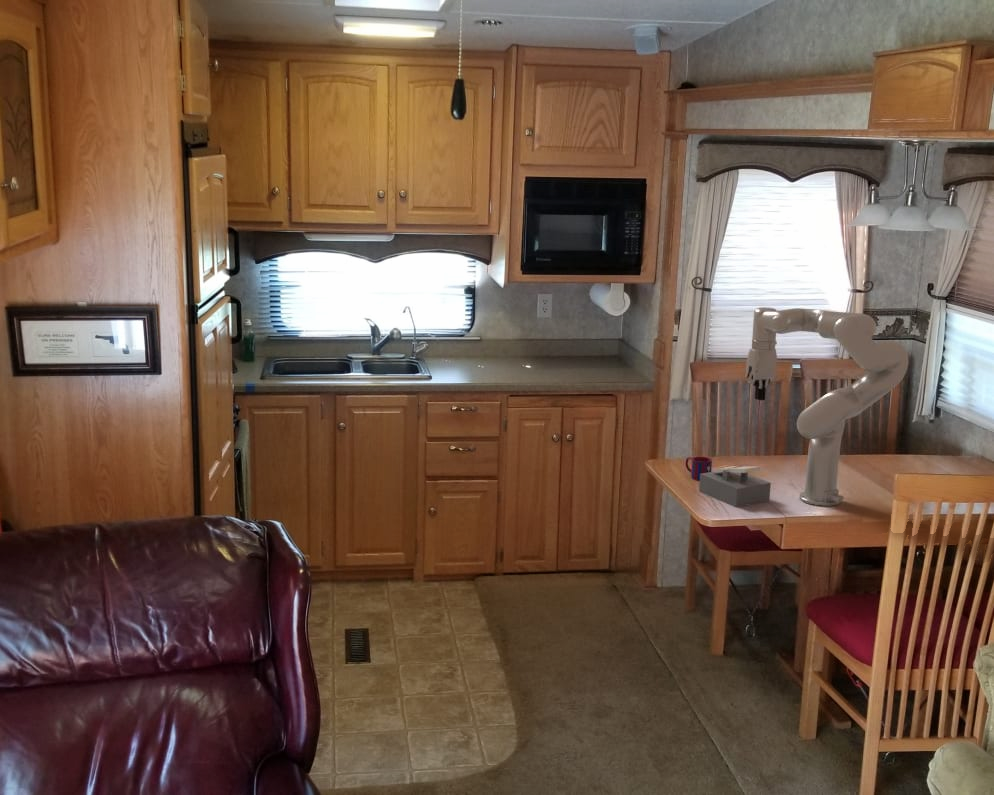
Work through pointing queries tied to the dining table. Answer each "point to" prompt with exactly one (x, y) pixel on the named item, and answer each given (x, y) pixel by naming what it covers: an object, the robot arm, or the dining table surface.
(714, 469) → the rocker
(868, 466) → the dining table surface
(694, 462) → the mug
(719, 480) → the switch box
